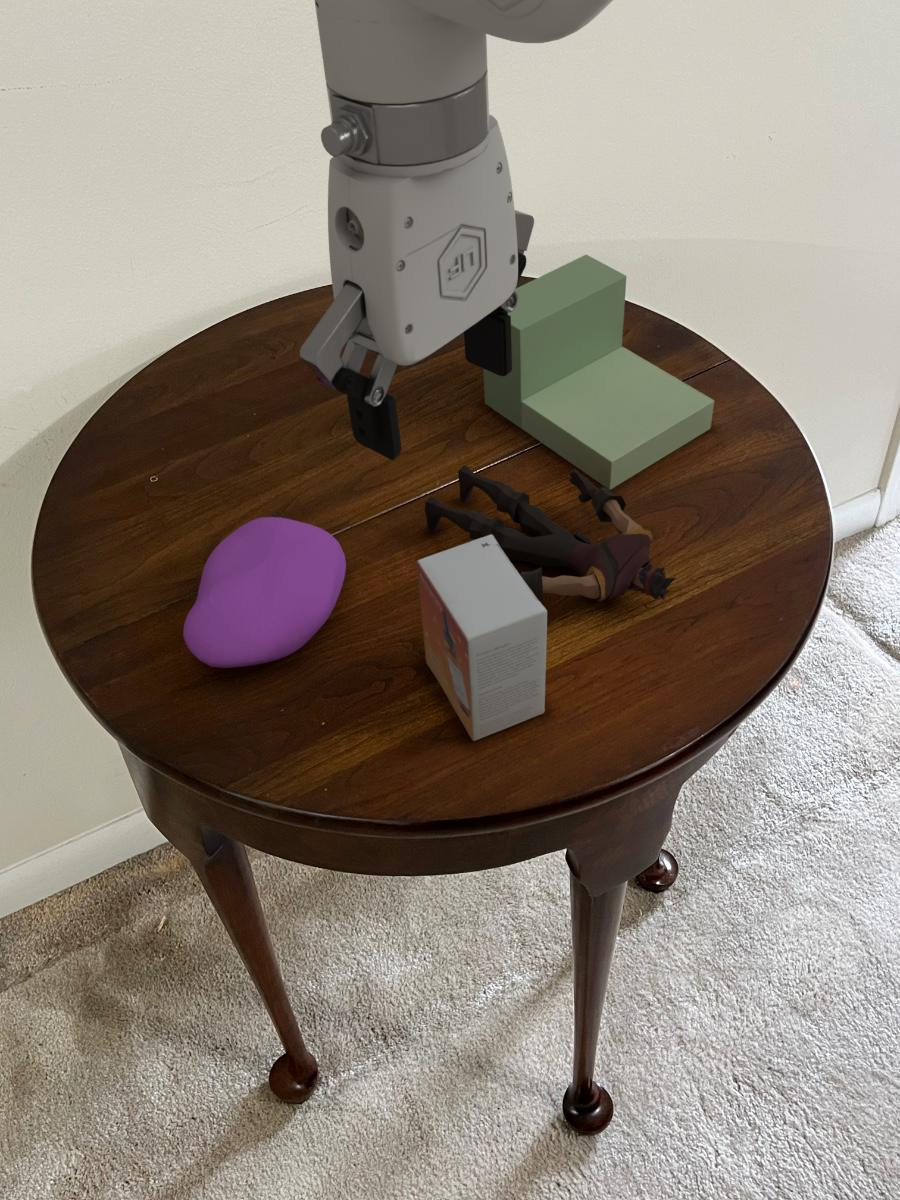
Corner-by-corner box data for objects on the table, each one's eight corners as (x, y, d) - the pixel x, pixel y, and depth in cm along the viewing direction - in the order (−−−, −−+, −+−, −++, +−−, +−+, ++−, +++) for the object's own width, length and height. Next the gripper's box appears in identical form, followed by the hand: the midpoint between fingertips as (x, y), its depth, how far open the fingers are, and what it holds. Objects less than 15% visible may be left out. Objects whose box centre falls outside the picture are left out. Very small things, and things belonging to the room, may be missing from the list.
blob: (245, 711, 78) (231, 664, 74) (142, 641, 83) (124, 594, 79) (381, 590, 85) (374, 543, 82) (279, 533, 90) (268, 486, 87)
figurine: (393, 578, 87) (619, 677, 78) (385, 537, 84) (619, 635, 75) (502, 472, 95) (718, 550, 86) (498, 432, 92) (722, 507, 83)
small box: (425, 663, 80) (413, 557, 72) (495, 636, 81) (491, 530, 74) (472, 745, 75) (465, 640, 67) (547, 715, 76) (548, 609, 69)
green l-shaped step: (710, 428, 96) (725, 328, 89) (609, 490, 92) (616, 389, 84) (582, 351, 106) (586, 254, 98) (484, 403, 101) (480, 305, 93)
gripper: (336, 206, 47) (379, 511, 59) (583, 67, 56) (576, 359, 68) (220, 161, 51) (283, 457, 63) (468, 37, 59) (481, 319, 72)
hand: (435, 406), depth 66 cm, fingers open, 9 cm apart
